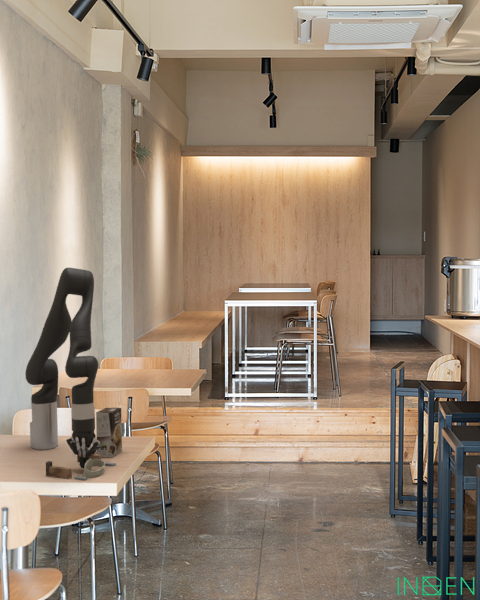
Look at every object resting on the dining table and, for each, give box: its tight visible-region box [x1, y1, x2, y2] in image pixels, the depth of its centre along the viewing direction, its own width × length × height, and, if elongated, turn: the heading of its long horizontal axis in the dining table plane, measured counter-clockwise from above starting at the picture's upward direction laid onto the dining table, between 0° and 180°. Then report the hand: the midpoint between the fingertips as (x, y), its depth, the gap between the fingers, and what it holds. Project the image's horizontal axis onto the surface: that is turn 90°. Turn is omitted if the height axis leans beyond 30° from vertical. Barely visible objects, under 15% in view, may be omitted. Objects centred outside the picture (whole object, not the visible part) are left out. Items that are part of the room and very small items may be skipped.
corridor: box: [45, 453, 102, 480], centre depth 216 cm, size 9×18×4 cm, turn 157°
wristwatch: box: [82, 458, 106, 479], centre depth 211 cm, size 9×6×5 cm
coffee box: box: [95, 407, 123, 458], centre depth 234 cm, size 9×6×16 cm
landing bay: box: [74, 461, 117, 482], centre depth 212 cm, size 4×18×1 cm, turn 157°
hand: (84, 467), depth 214 cm, fingers closed
